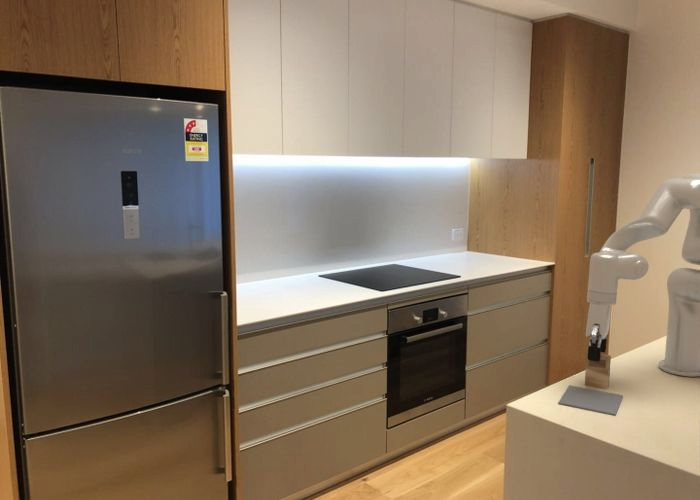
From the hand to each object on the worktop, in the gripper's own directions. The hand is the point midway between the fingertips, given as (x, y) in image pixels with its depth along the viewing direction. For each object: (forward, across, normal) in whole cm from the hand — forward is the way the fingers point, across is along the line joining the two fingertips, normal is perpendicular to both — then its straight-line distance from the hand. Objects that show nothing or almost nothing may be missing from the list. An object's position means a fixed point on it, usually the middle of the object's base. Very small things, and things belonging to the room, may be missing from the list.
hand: (596, 355), depth 166 cm
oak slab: (+9, -1, +1) cm, 9 cm away
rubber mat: (+9, +11, +1) cm, 14 cm away
